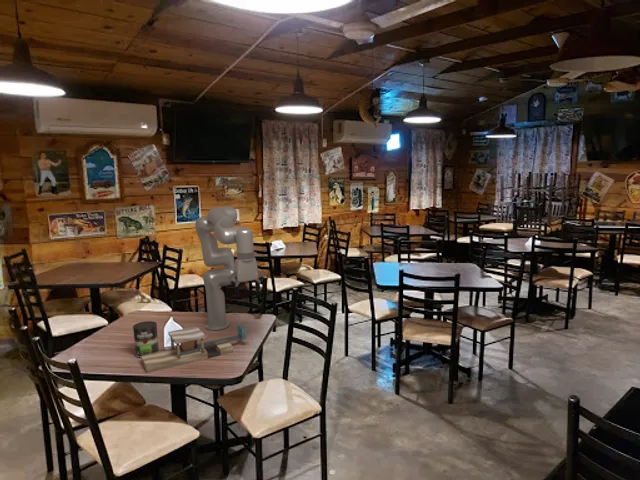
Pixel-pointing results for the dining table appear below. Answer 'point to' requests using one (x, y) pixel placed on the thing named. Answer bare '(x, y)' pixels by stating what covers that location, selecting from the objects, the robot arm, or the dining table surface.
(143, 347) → the coffee can
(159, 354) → the tunnel
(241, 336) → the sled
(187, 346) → the block
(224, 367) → the dining table surface
